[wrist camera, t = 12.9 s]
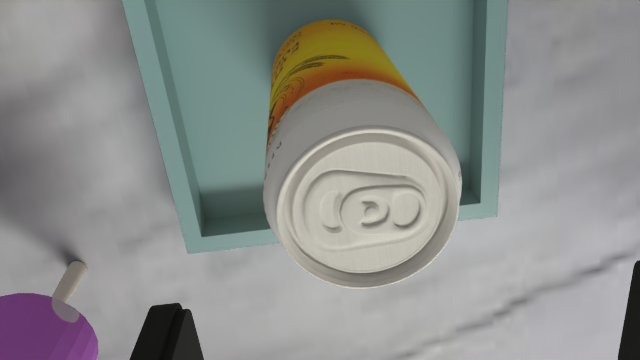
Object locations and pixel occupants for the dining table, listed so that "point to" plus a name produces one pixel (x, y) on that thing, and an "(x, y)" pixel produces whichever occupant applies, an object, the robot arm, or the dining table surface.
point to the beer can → (354, 162)
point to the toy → (47, 324)
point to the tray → (255, 86)
